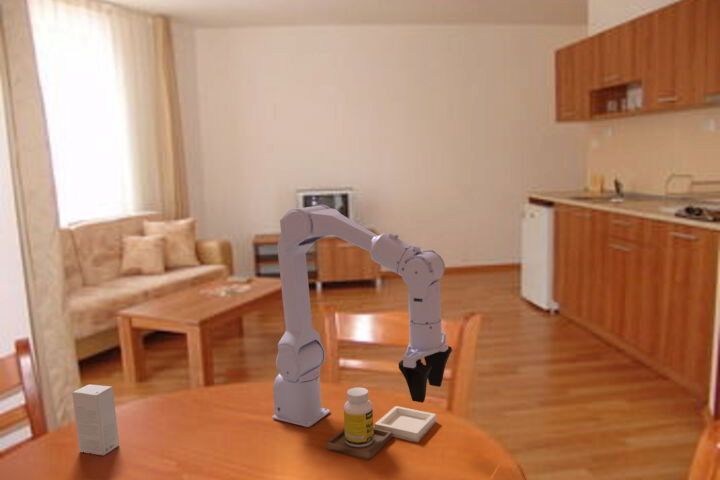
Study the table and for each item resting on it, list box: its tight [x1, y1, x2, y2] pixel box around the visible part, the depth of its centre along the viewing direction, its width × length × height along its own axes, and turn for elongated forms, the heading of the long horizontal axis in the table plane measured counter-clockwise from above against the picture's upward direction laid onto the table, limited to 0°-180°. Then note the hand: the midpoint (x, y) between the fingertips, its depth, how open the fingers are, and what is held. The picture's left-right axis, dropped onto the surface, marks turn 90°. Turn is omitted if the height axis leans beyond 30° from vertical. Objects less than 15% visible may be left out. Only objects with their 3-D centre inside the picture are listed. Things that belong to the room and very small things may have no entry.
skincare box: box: [72, 383, 120, 456], centre depth 107 cm, size 6×4×12 cm
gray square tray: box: [325, 427, 393, 461], centre depth 106 cm, size 9×9×1 cm
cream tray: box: [374, 405, 437, 443], centre depth 111 cm, size 9×9×2 cm
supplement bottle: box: [343, 387, 374, 448], centre depth 105 cm, size 5×5×10 cm
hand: (427, 392), depth 102 cm, fingers open, 7 cm apart
